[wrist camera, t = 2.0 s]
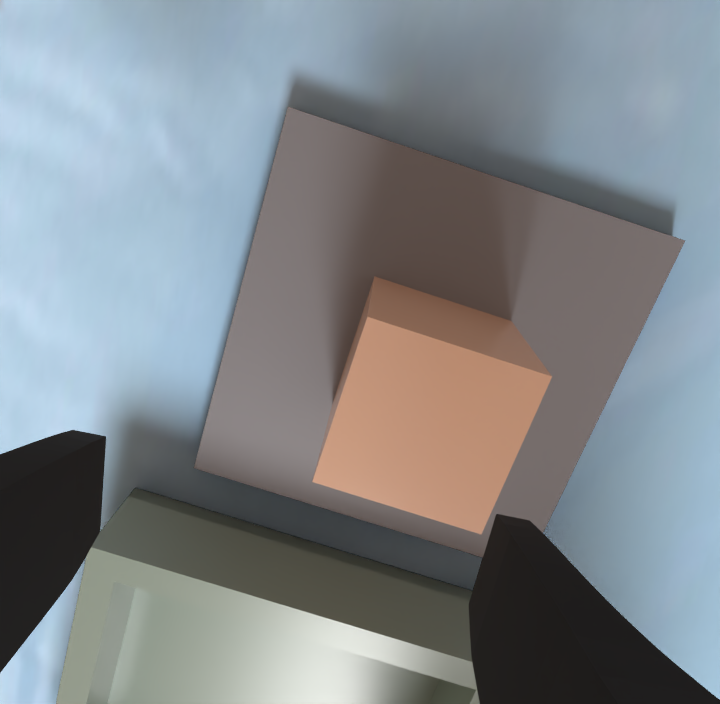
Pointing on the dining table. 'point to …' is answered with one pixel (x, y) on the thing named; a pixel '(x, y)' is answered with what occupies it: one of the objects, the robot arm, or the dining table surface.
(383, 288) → the clay block
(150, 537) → the olive bin
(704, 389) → the dining table surface
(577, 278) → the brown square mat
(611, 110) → the dining table surface
